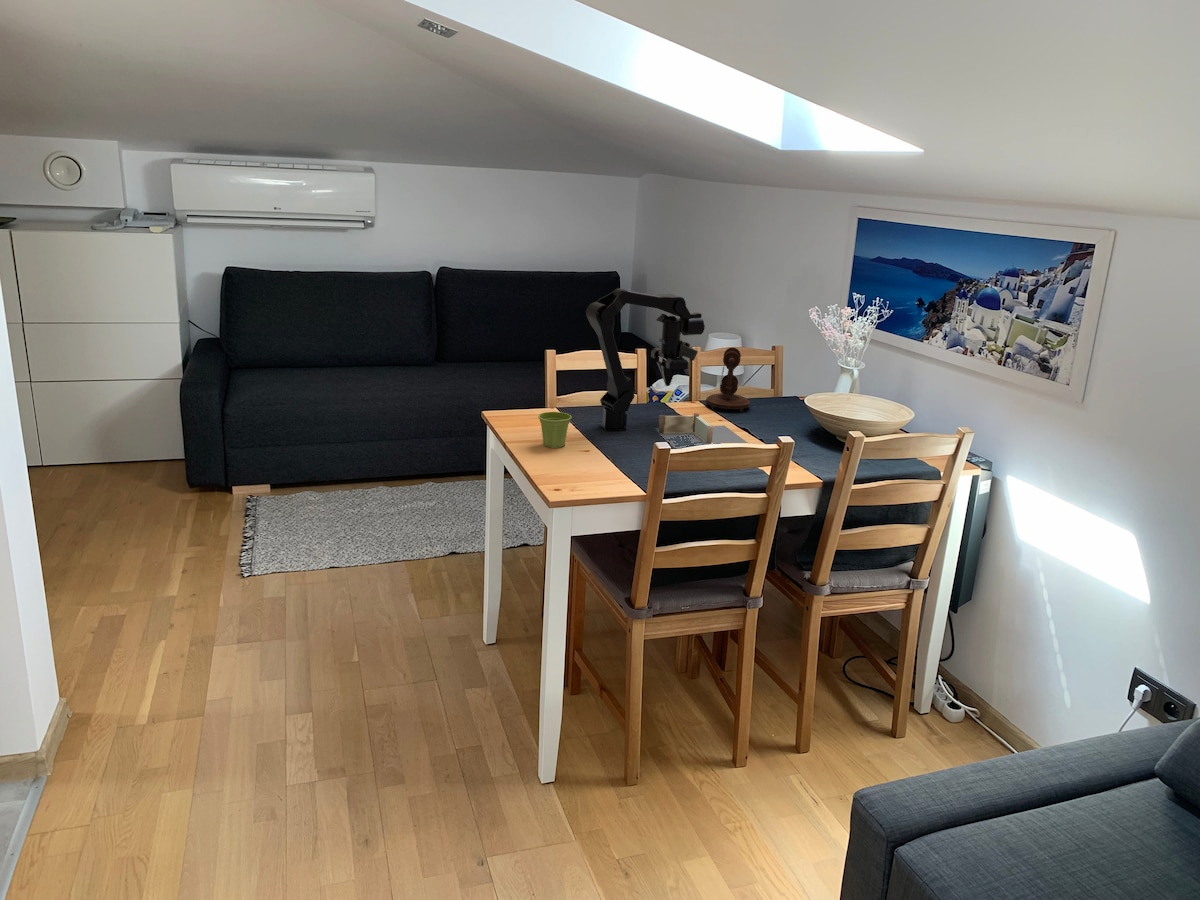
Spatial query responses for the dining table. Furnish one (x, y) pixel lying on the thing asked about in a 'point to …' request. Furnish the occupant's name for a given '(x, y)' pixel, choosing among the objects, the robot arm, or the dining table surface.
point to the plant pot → (554, 428)
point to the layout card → (719, 436)
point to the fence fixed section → (677, 423)
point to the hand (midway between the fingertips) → (667, 385)
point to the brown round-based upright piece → (729, 385)
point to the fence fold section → (704, 429)
